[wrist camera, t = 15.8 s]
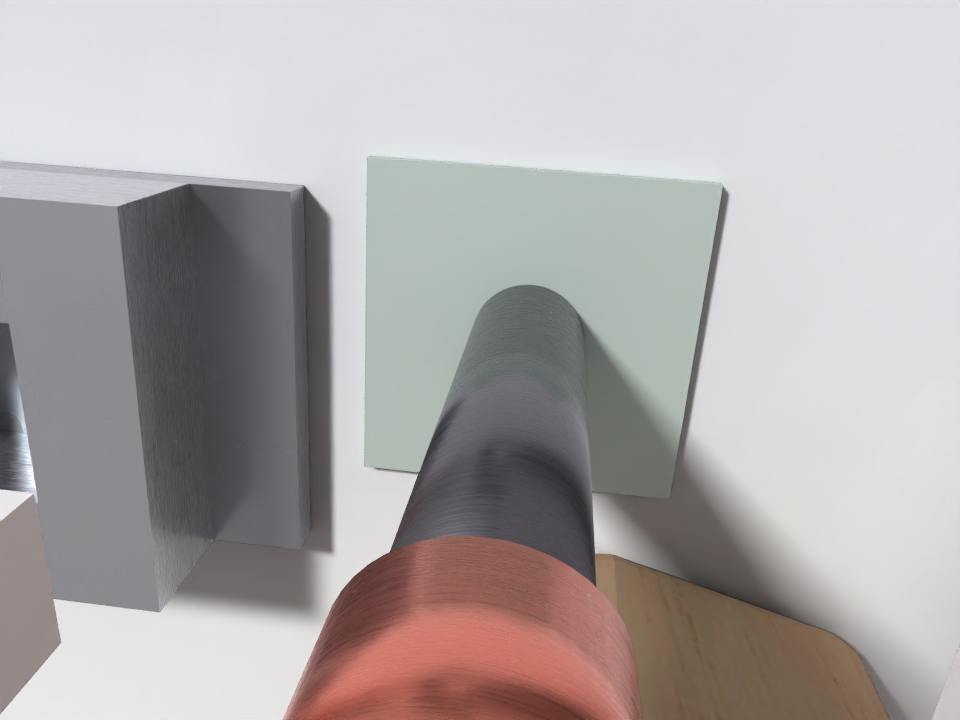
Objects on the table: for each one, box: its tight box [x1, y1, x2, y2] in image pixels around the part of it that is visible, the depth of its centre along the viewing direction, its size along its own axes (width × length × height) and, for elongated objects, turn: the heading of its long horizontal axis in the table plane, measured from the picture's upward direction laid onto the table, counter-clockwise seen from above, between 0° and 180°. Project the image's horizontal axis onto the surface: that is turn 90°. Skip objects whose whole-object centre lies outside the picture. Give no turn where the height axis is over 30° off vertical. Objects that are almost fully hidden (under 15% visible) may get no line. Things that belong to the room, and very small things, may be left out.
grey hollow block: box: [0, 161, 311, 612], centre depth 24 cm, size 12×15×5 cm
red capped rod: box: [283, 285, 643, 720], centre depth 16 cm, size 4×4×18 cm
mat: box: [364, 156, 723, 500], centre depth 24 cm, size 10×10×1 cm
